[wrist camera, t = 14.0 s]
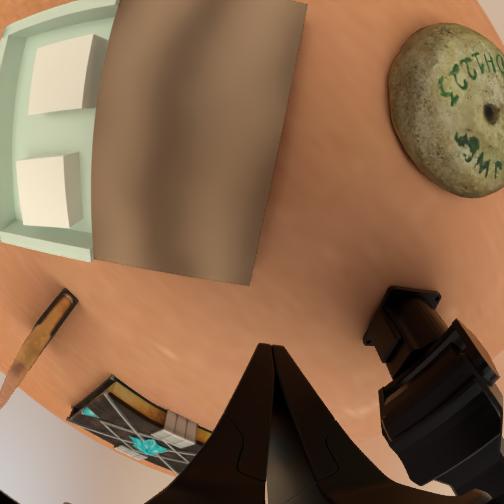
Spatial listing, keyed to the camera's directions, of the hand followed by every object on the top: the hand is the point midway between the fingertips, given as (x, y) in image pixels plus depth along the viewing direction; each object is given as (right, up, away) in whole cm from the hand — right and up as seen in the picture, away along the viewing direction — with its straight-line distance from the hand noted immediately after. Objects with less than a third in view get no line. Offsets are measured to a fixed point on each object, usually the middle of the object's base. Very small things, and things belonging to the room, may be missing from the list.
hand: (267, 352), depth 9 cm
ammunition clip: (-21, -3, +15) cm, 26 cm away
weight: (+15, +15, +6) cm, 22 cm away
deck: (-5, +11, +7) cm, 14 cm away
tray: (-15, +13, +6) cm, 21 cm away
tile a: (-15, +8, +8) cm, 19 cm away
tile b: (-13, +15, +4) cm, 20 cm away
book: (-15, -22, +24) cm, 36 cm away
